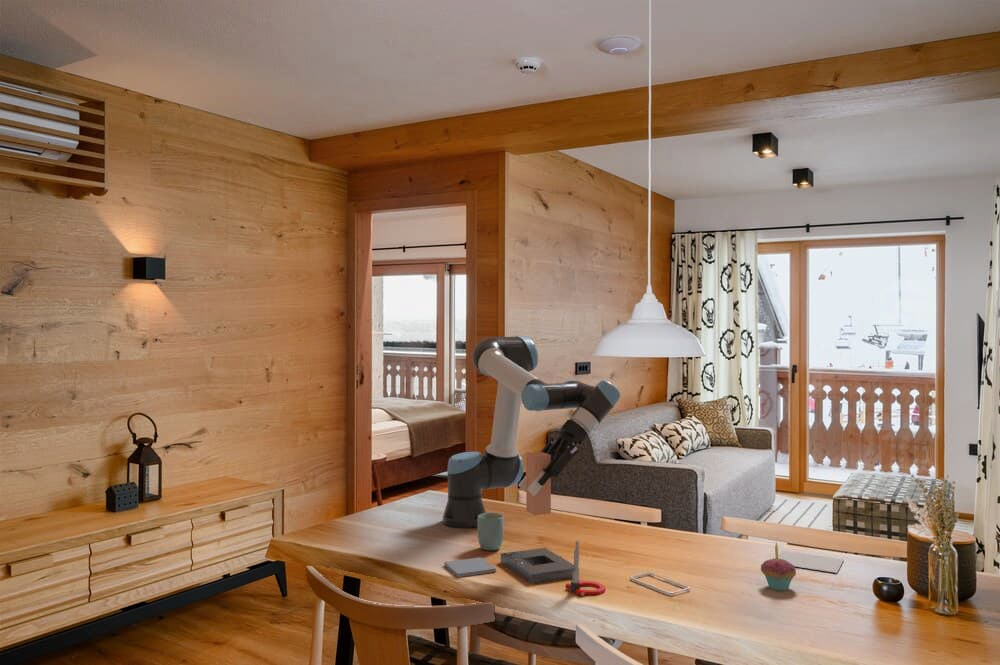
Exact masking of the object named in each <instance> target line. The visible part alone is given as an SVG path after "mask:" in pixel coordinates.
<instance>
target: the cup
mask: <svg viewBox="0 0 1000 665" xmlns="http://www.w3.org/2000/svg"><path fill="white" fill-rule="evenodd" d="M504 520H505V519H504V515H503V514H502V513H497V512H486V513H483V514H480V515H478V518H477V527H476V528H477V529H476V530H477V542H478V545H479V547H480V548H481V549H482V550H483V551H487V552H488V551H491V552H493V551H497V550H499V549H501V547H502V545H503V541H504V532H505V531H504V529H505V528H504V527H505V526H504V524H505V523H504V522H505V521H504Z"/></svg>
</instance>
